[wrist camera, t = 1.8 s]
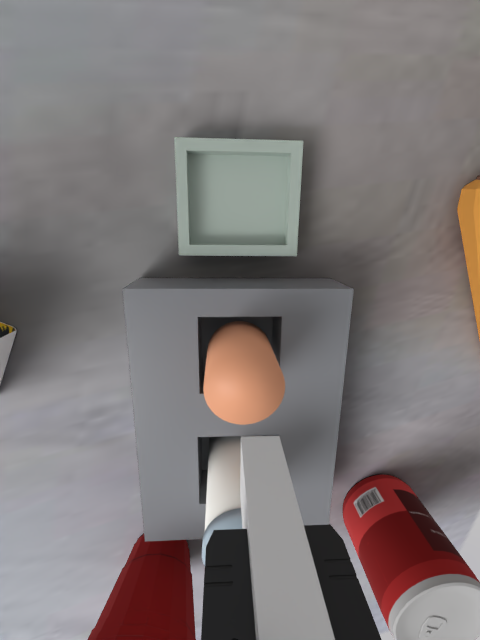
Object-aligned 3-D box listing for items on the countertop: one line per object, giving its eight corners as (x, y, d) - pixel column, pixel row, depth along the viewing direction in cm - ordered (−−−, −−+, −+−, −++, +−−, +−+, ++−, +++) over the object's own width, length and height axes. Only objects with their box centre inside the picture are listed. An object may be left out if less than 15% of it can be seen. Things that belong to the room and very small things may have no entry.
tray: (181, 253, 26) (178, 255, 25) (177, 144, 24) (174, 137, 22) (291, 254, 27) (296, 256, 25) (296, 147, 25) (303, 140, 23)
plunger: (207, 380, 25) (204, 425, 20) (206, 321, 24) (202, 350, 18) (269, 379, 26) (283, 423, 20) (271, 320, 24) (287, 349, 19)
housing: (155, 495, 33) (144, 541, 28) (140, 277, 27) (122, 288, 22) (312, 489, 34) (327, 533, 29) (330, 278, 28) (353, 288, 23)
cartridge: (208, 464, 31) (202, 586, 20) (207, 415, 30) (200, 520, 19) (263, 462, 31) (284, 582, 21) (264, 414, 30) (288, 517, 19)
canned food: (332, 529, 35) (380, 658, 25) (350, 468, 33) (410, 580, 23) (399, 534, 36) (473, 660, 26) (420, 474, 34) (509, 585, 23)
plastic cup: (93, 520, 33) (26, 675, 22) (197, 498, 33) (184, 642, 22) (125, 595, 36) (81, 766, 25) (220, 575, 36) (220, 736, 25)
